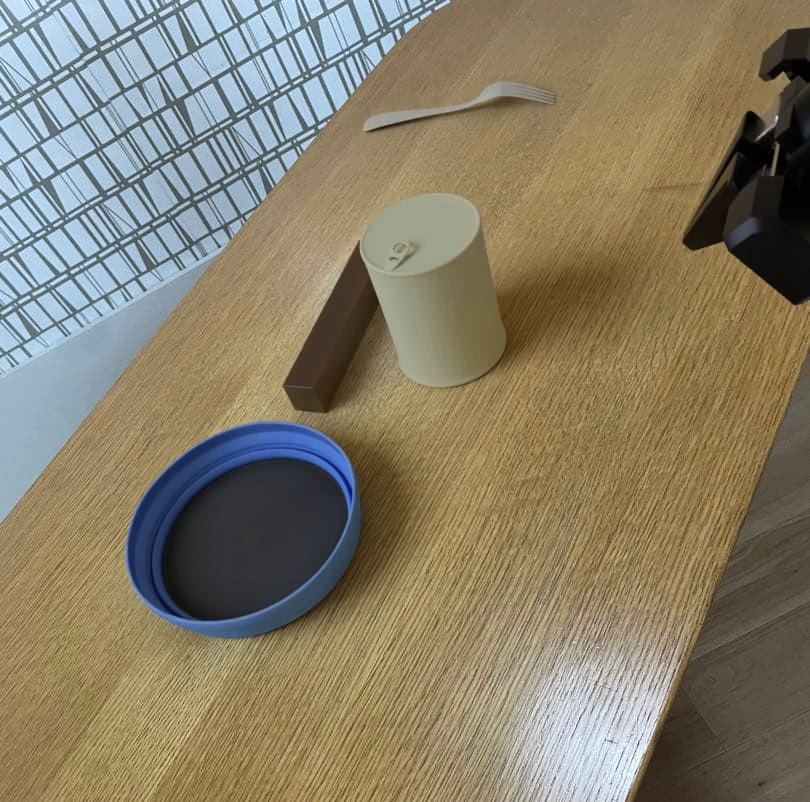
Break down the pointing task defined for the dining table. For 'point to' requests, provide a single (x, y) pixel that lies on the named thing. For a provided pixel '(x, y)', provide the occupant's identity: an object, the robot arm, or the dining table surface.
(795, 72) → the robot arm
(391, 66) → the dining table surface
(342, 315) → the rail
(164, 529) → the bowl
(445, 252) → the can
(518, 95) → the fork
